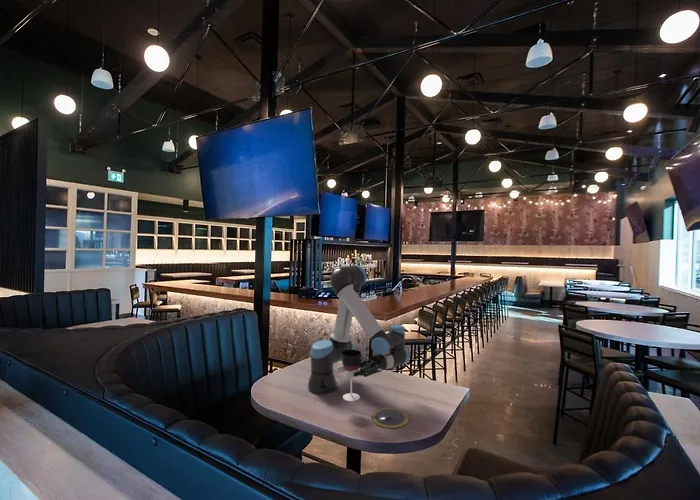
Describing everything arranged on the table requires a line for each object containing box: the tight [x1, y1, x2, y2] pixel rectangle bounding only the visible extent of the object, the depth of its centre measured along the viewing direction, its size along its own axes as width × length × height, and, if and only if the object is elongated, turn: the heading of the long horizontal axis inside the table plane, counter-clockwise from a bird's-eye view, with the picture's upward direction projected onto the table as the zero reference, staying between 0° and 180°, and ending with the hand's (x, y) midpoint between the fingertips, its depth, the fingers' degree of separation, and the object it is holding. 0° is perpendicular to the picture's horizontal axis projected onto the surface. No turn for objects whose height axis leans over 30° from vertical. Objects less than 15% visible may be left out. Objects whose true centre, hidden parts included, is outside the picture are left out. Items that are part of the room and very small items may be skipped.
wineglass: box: [341, 349, 362, 402], centre depth 153 cm, size 8×9×20 cm
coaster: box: [371, 407, 410, 429], centre depth 150 cm, size 16×16×1 cm
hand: (341, 373), depth 150 cm, fingers closed on wineglass, 7 cm apart
